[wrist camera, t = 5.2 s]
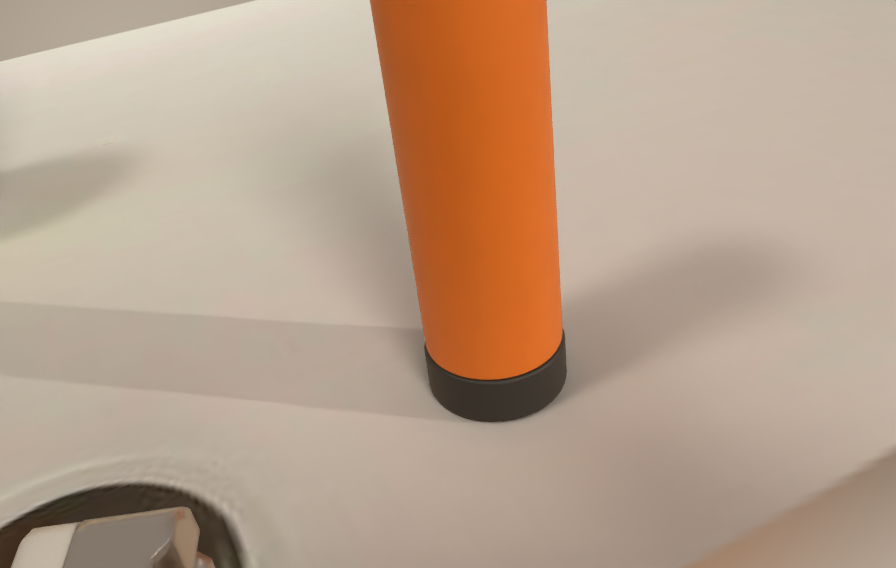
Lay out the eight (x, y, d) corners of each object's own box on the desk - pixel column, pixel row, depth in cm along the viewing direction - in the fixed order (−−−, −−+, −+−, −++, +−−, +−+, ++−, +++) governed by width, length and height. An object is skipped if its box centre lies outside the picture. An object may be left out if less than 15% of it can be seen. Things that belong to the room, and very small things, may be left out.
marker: (592, 399, 20) (577, -194, 13) (451, 441, 19) (358, -158, 12) (537, 319, 22) (501, -204, 16) (412, 353, 22) (320, -175, 15)
